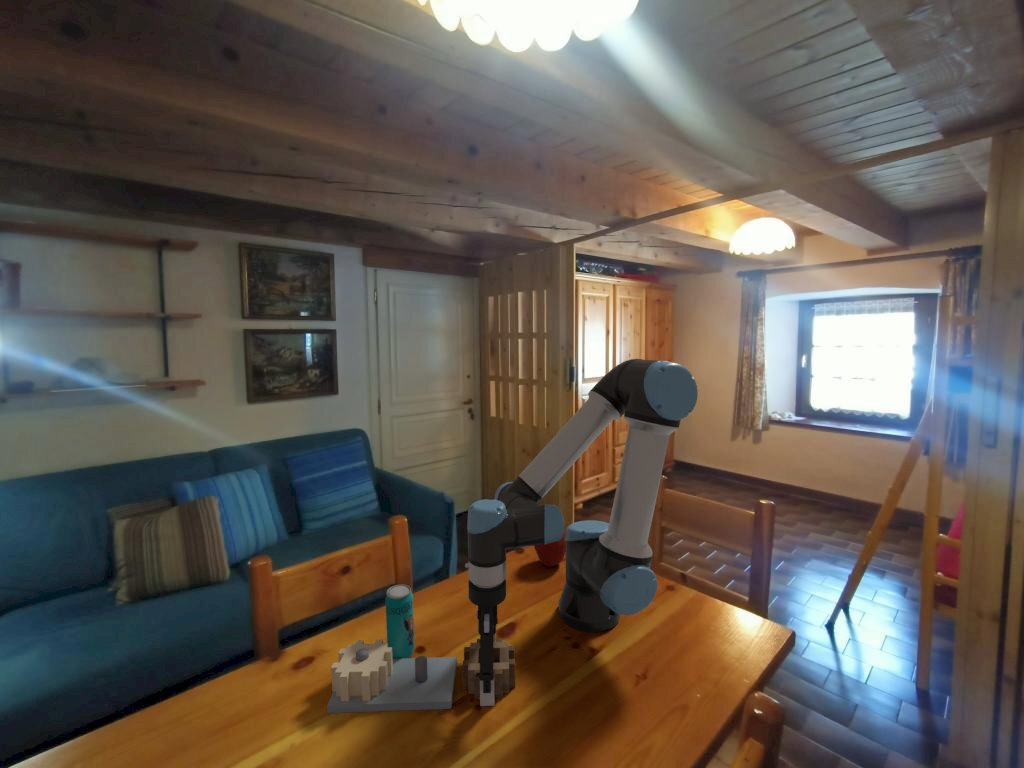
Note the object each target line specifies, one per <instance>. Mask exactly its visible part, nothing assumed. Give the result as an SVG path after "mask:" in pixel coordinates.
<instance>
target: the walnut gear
mask: <svg viewBox="0 0 1024 768" xmlns="http://www.w3.org/2000/svg"><path fill="white" fill-rule="evenodd" d="M469 644H470V645H469V646H464V647H463V648H464V649H463V660H462V663H461V665H462V673H461V675H462V689H463V690H468V691H467V692H468V695H474V699H480V678H479V677H476V673H480V638H477V639H476V642H470V643H469ZM493 671H494V695H495V699H497V698H498V699H499V698H502V699H503V698H504V693H505V694H506V693H508V694H509V693H510V688H516V659H515V645H509V641H503V638H502V637H499V638H498V637H497V638H496V637H495V642H493Z"/></svg>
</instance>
